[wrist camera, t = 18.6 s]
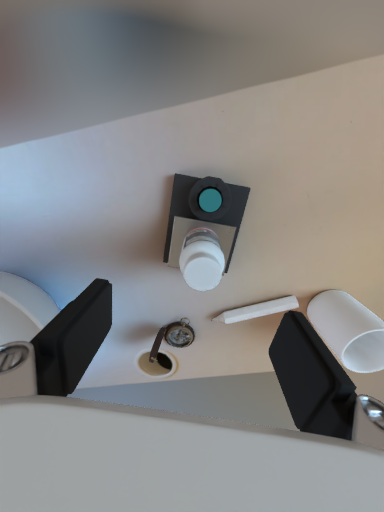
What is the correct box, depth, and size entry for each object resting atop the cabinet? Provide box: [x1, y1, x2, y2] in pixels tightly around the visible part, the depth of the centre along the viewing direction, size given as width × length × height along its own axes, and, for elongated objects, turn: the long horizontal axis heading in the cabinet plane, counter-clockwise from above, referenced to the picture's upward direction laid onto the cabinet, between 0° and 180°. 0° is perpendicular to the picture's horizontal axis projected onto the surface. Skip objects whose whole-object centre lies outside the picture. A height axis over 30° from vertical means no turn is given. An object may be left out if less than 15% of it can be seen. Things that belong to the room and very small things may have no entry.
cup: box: [307, 290, 384, 373], centre depth 32 cm, size 8×12×10 cm
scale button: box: [199, 188, 222, 212], centre depth 27 cm, size 3×3×2 cm
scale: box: [163, 174, 250, 273], centre depth 30 cm, size 14×11×3 cm
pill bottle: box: [179, 228, 225, 291], centre depth 24 cm, size 5×5×10 cm
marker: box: [211, 295, 299, 324], centre depth 36 cm, size 3×2×16 cm
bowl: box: [0, 271, 60, 346], centre depth 35 cm, size 27×27×10 cm
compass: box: [149, 318, 195, 363], centre depth 36 cm, size 8×8×7 cm
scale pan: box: [168, 215, 236, 276], centre depth 29 cm, size 8×9×1 cm
